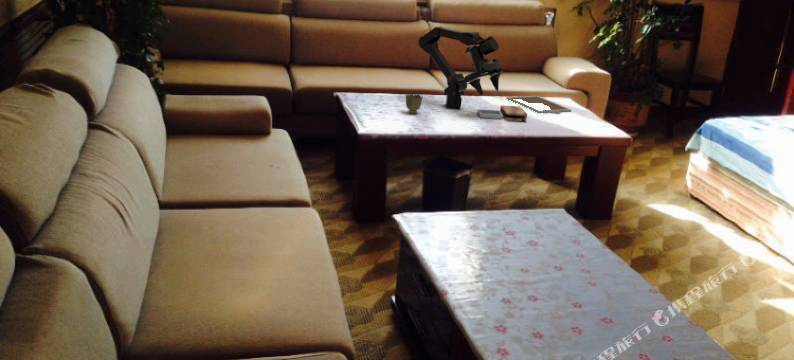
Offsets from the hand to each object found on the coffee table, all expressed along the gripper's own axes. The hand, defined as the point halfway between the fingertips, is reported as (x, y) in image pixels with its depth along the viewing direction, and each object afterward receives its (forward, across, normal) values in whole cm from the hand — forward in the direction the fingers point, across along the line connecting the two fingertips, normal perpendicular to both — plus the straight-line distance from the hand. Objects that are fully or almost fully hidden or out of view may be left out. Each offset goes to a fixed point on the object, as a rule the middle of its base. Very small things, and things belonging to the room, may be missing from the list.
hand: (490, 92), depth 286 cm
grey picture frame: (+12, +38, +13) cm, 42 cm away
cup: (-2, -30, +19) cm, 35 cm away
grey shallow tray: (+10, 0, +5) cm, 11 cm away
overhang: (+14, +9, +1) cm, 16 cm away
